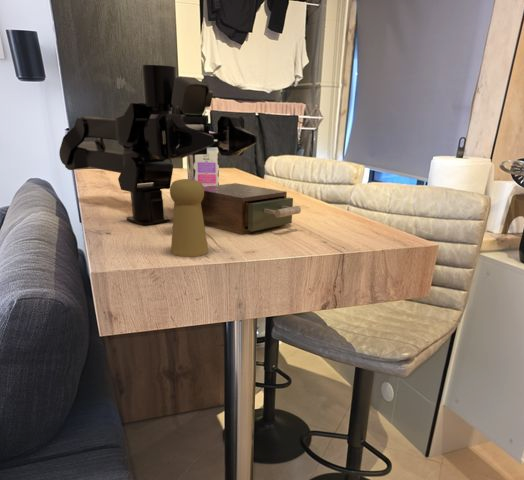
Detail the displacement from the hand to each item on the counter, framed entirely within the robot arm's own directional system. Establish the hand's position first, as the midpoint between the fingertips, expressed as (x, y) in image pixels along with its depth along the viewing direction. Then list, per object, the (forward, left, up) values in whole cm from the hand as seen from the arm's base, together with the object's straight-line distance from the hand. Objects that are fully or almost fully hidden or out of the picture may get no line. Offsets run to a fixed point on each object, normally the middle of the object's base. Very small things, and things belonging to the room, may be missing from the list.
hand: (235, 139), depth 70 cm
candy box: (-30, +19, -17) cm, 40 cm away
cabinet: (-12, +13, -17) cm, 24 cm away
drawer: (-8, +13, -16) cm, 22 cm away
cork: (-2, -8, -17) cm, 19 cm away
